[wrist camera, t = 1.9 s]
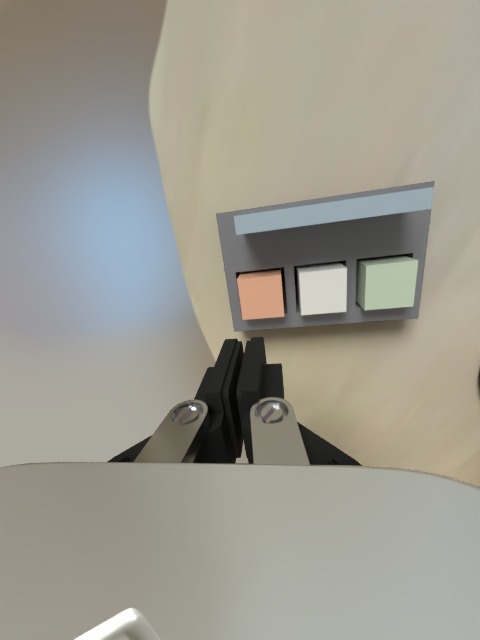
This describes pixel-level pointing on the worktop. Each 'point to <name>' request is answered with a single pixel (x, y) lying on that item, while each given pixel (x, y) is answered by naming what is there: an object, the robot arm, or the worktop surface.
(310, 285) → the white key
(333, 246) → the keypad
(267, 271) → the terracotta key
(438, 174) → the worktop surface
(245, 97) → the worktop surface
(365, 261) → the sage key
